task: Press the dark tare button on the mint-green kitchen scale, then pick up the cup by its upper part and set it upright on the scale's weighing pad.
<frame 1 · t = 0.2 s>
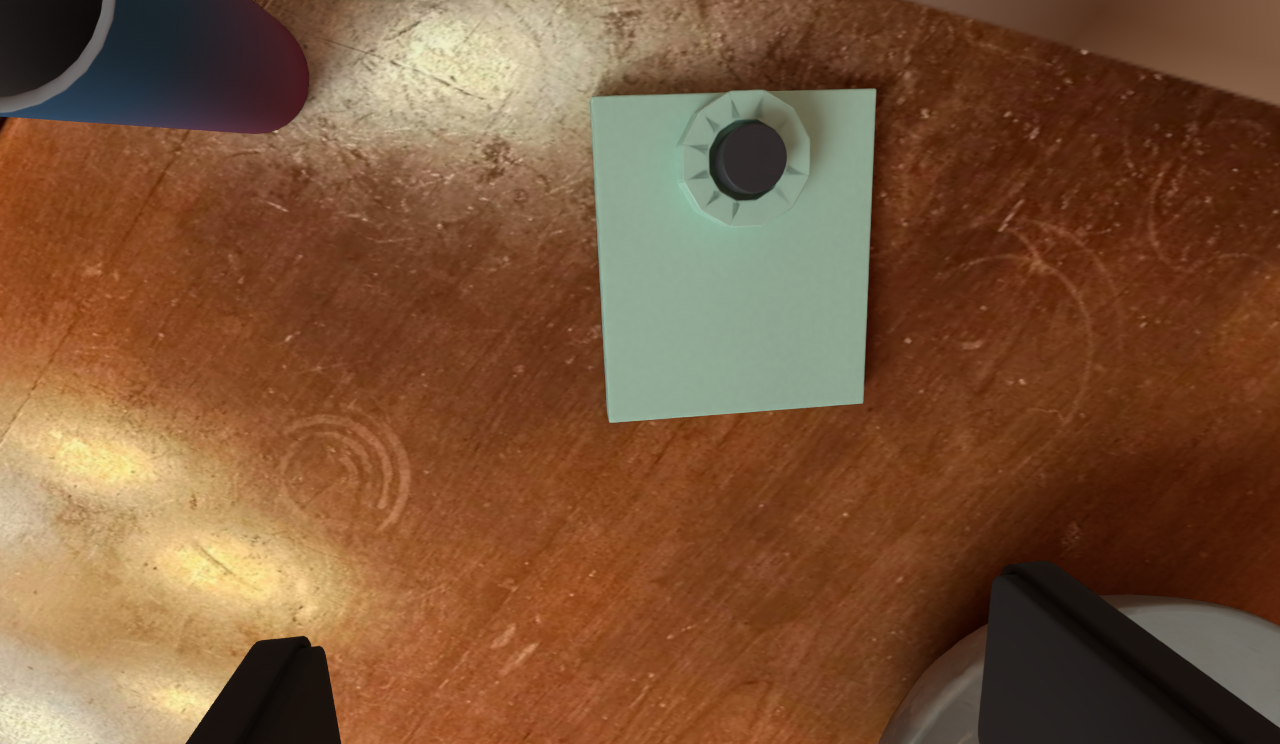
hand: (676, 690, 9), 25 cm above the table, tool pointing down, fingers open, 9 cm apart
cup: (249, 72, 29), on the table
tare button: (749, 159, 29), point 3 cm above the table, slide at 0.1 cm
bowl: (1013, 724, 43), on the table
scale: (731, 259, 34), on the table
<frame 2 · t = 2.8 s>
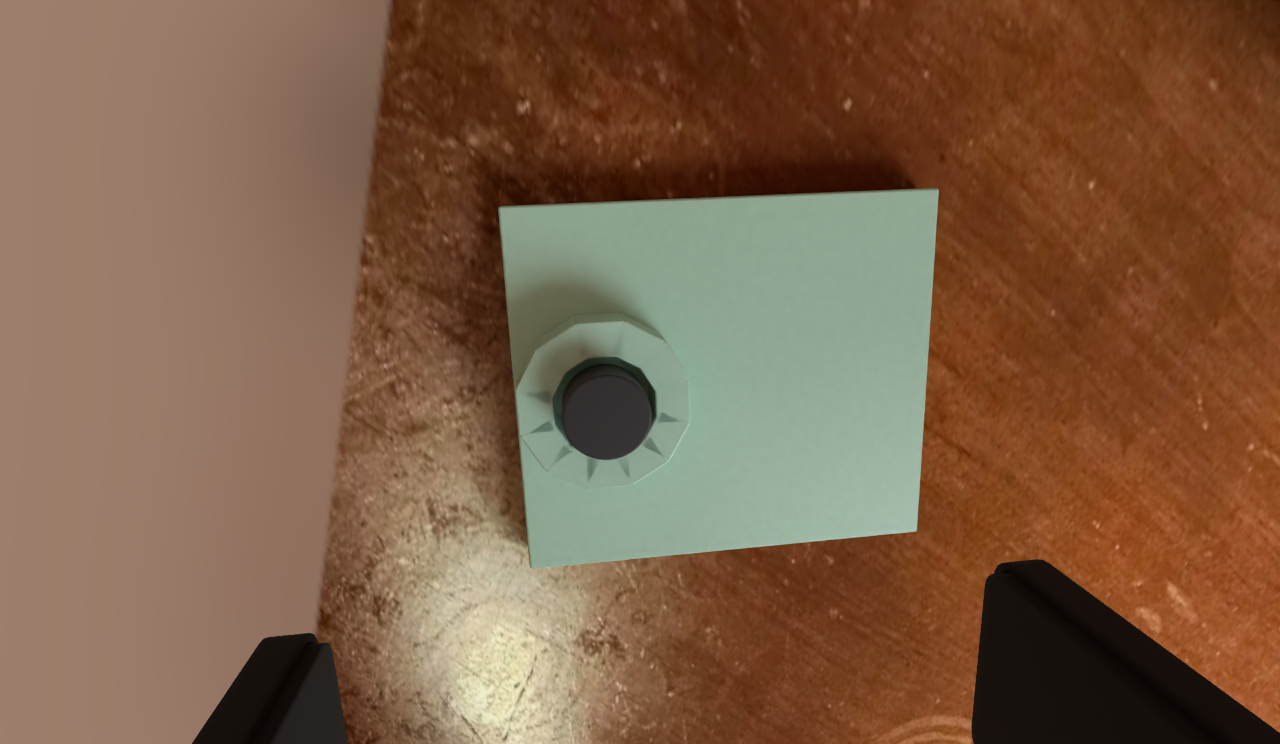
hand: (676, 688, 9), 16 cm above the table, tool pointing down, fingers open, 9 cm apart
tare button: (605, 411, 22), point 3 cm above the table, slide at 0.1 cm
scale: (719, 375, 26), on the table
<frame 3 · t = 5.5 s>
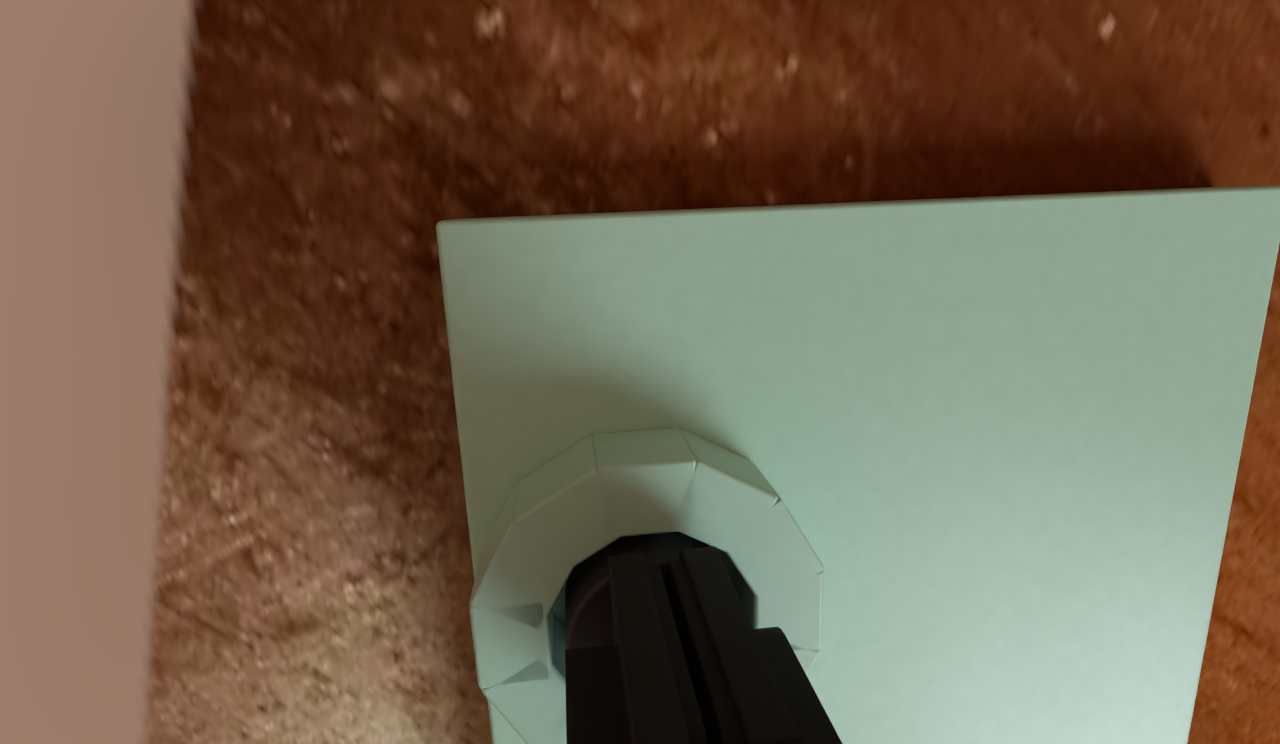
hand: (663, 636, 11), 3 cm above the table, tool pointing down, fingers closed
tare button: (650, 614, 11), point 3 cm above the table, slide at -0.7 cm, touching gripper
scale: (846, 521, 14), on the table
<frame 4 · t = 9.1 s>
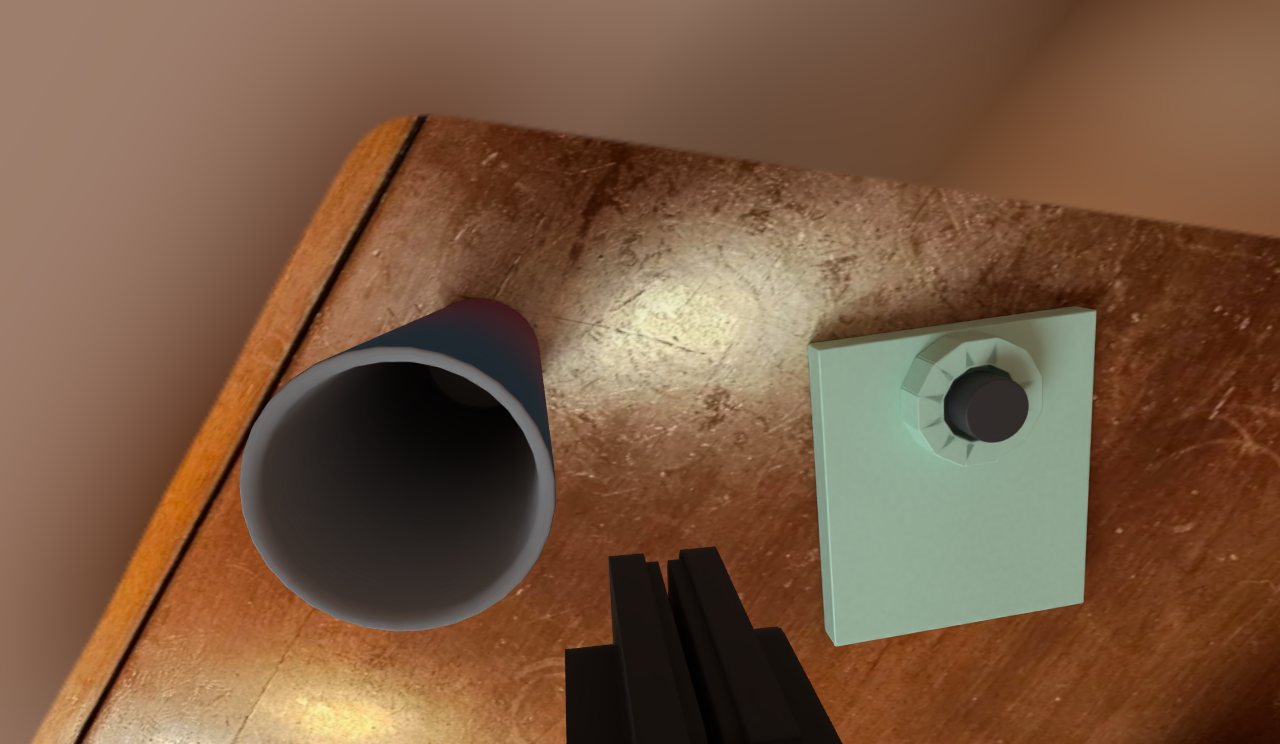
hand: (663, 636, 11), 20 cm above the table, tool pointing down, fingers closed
cup: (482, 354, 30), on the table
tare button: (986, 406, 29), point 3 cm above the table, slide at 0.1 cm
scale: (944, 474, 33), on the table
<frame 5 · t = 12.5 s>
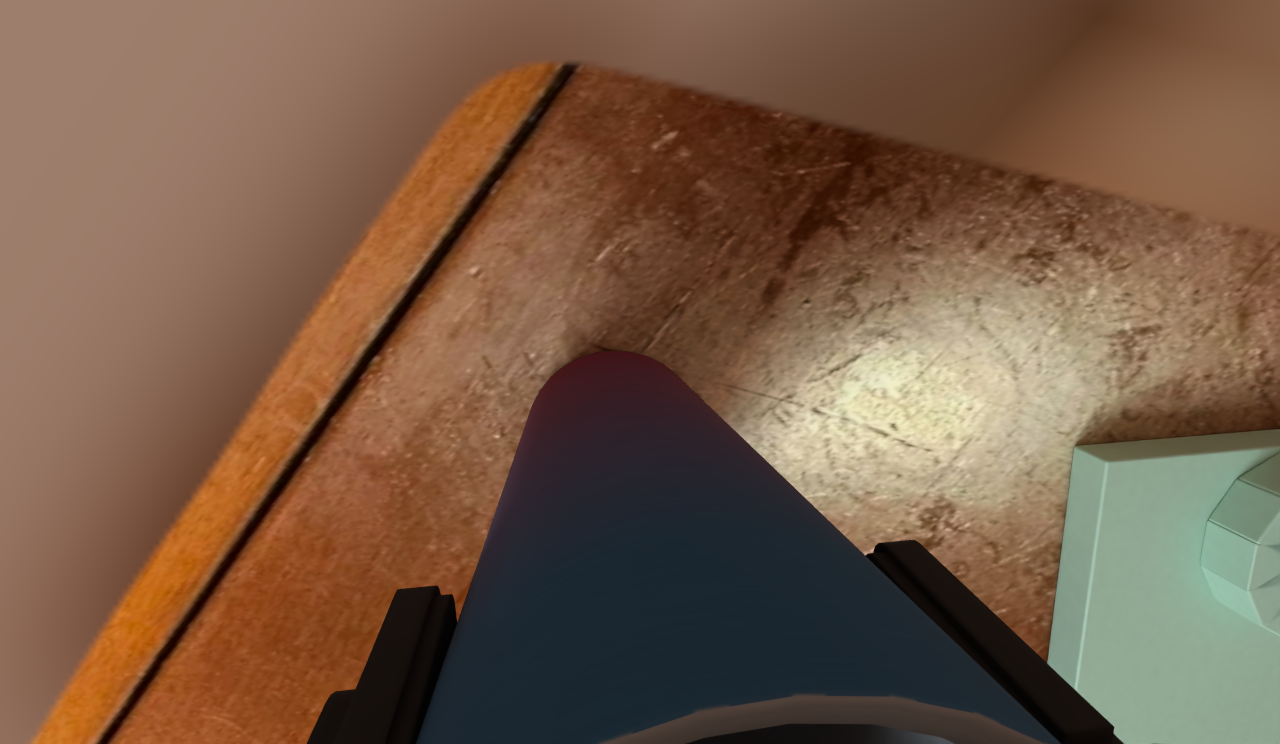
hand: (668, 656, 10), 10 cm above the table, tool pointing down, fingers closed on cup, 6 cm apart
cup: (613, 432, 20), on the table, touching gripper
scale: (1218, 630, 24), on the table
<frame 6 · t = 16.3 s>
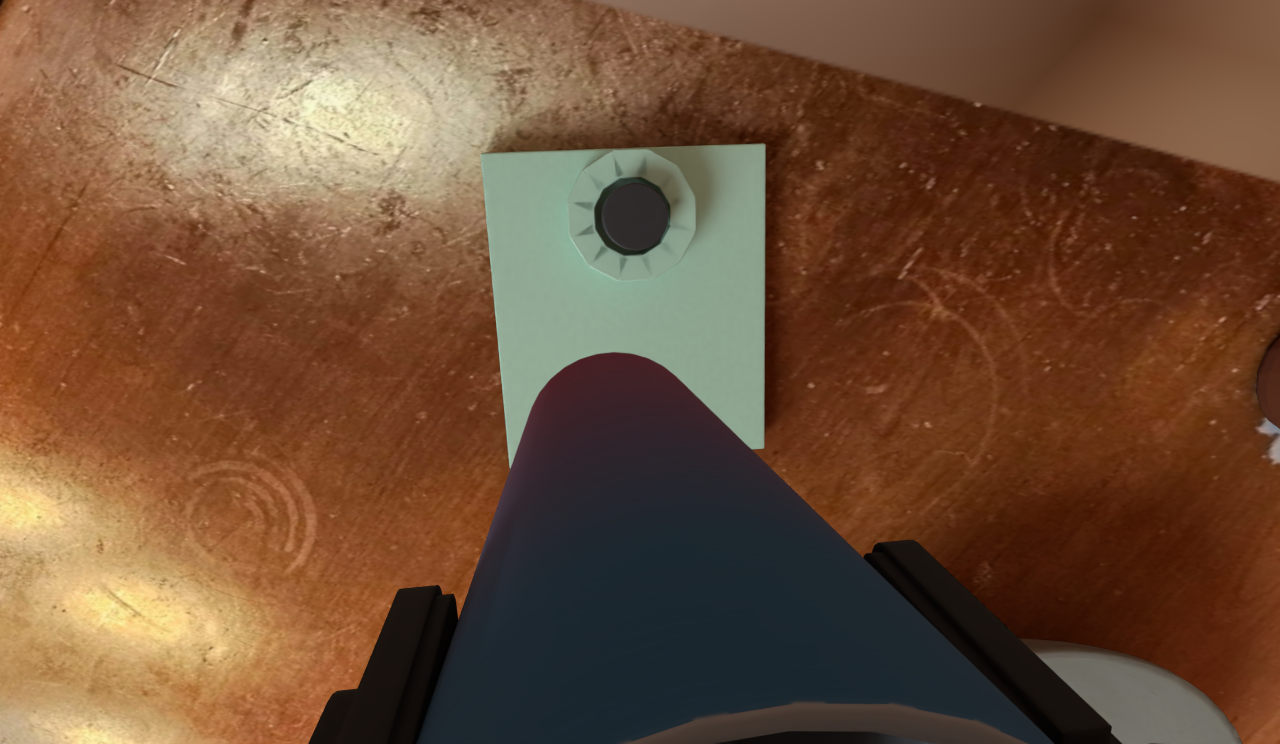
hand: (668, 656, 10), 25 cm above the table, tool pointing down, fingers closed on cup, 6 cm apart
cup: (613, 434, 20), point 15 cm above the table, touching gripper
tare button: (633, 216, 30), point 3 cm above the table, slide at 0.1 cm
scale: (630, 307, 34), on the table
when the fingers open (11 cm above the table, at t = 20.2 s): cup stays where it is, resting on scale.
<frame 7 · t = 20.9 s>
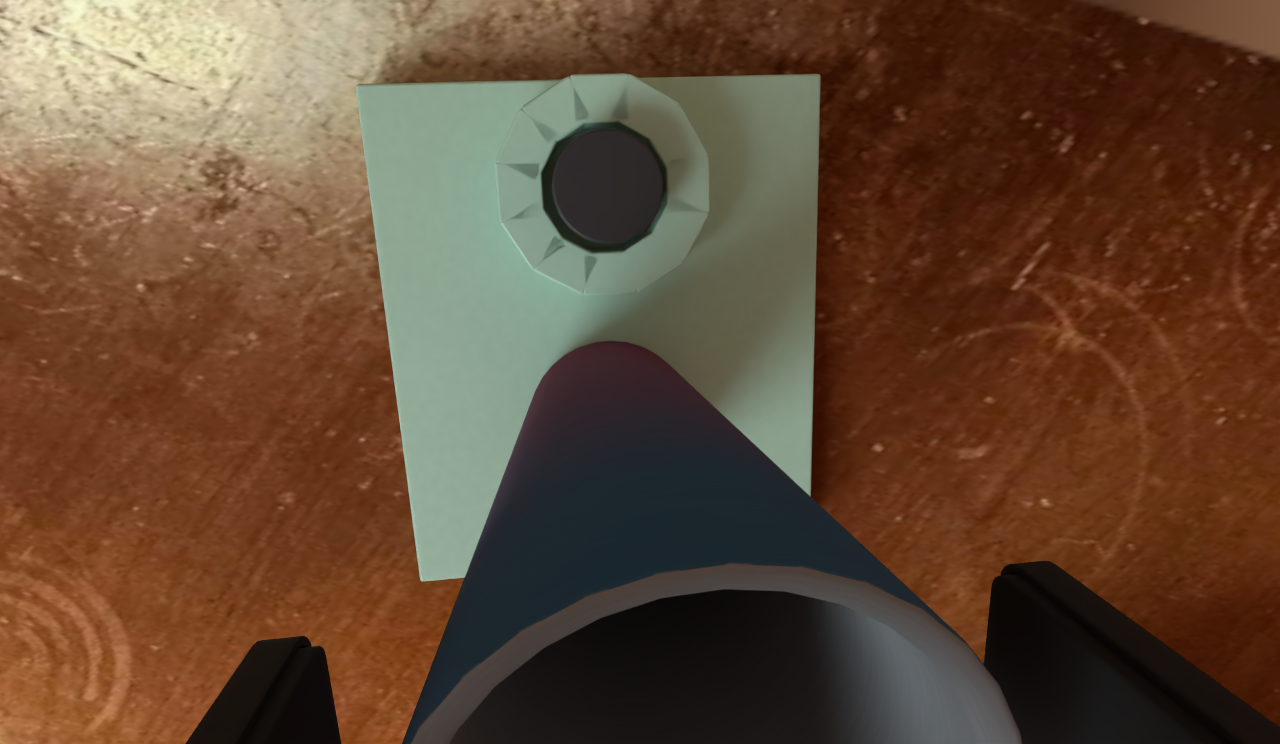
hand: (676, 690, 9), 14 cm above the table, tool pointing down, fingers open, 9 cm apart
cup: (610, 417, 22), point 1 cm above the table, touching scale
tare button: (606, 188, 18), point 3 cm above the table, slide at 0.1 cm
scale: (606, 333, 22), on the table
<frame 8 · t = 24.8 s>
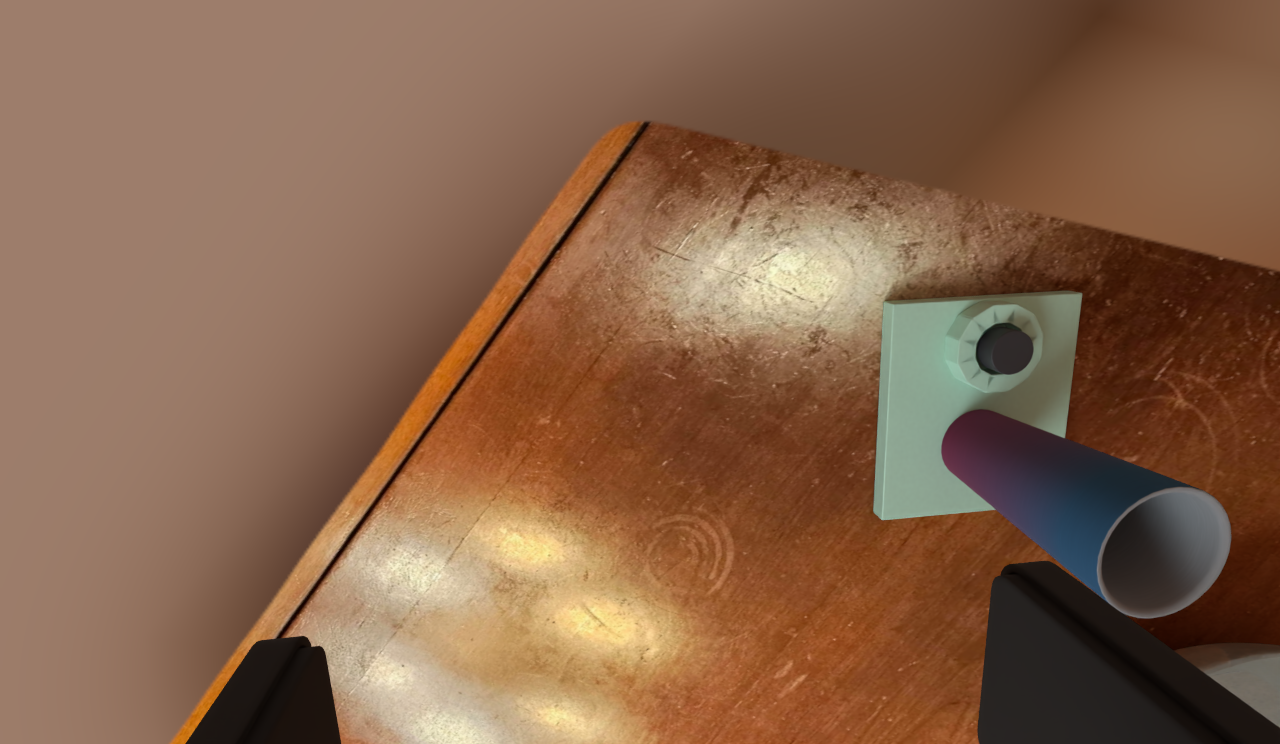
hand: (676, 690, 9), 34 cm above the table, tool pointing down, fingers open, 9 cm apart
cup: (974, 443, 47), point 1 cm above the table, touching scale
tare button: (1004, 350, 43), point 3 cm above the table, slide at 0.1 cm
bowl: (1143, 734, 57), on the table
scale: (967, 403, 47), on the table
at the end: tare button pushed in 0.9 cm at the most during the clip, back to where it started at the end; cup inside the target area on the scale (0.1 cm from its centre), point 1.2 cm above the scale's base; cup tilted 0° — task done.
